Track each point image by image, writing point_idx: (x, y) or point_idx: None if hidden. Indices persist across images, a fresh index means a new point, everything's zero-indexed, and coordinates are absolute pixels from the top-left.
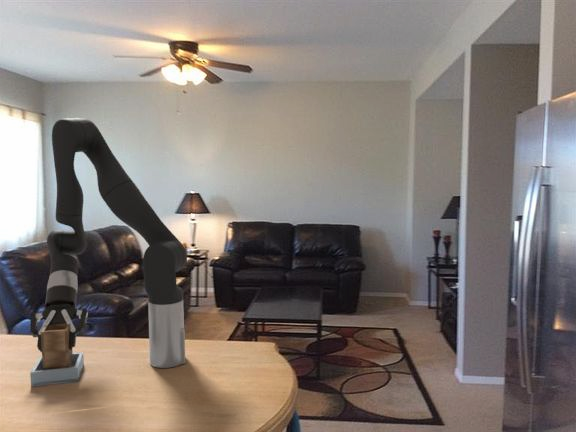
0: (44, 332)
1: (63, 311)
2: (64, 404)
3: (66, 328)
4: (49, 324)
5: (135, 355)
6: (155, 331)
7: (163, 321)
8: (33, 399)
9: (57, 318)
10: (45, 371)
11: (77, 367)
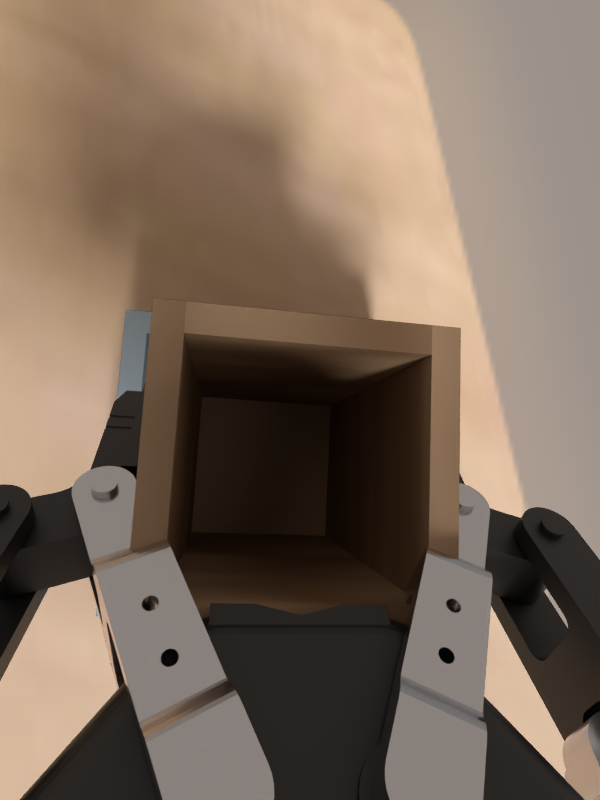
0: (418, 327)
1: (228, 790)
2: (194, 104)
3: (167, 364)
4: None
5: None
6: None
7: None
8: (341, 213)
9: (324, 687)
10: None
11: (127, 316)
